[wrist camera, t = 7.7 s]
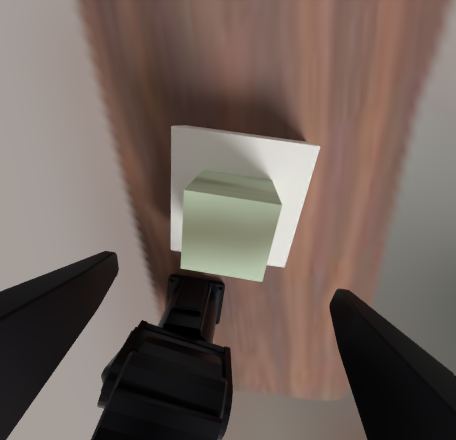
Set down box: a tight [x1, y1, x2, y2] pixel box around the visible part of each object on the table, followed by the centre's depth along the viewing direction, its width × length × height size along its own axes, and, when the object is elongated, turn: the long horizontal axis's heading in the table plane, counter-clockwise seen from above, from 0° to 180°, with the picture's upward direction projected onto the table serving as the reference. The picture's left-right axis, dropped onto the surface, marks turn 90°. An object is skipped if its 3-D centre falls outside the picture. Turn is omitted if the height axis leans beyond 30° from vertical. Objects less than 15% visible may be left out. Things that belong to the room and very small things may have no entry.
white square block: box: [171, 125, 320, 267], centre depth 18 cm, size 10×10×4 cm
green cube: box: [181, 170, 282, 282], centre depth 14 cm, size 5×5×5 cm
